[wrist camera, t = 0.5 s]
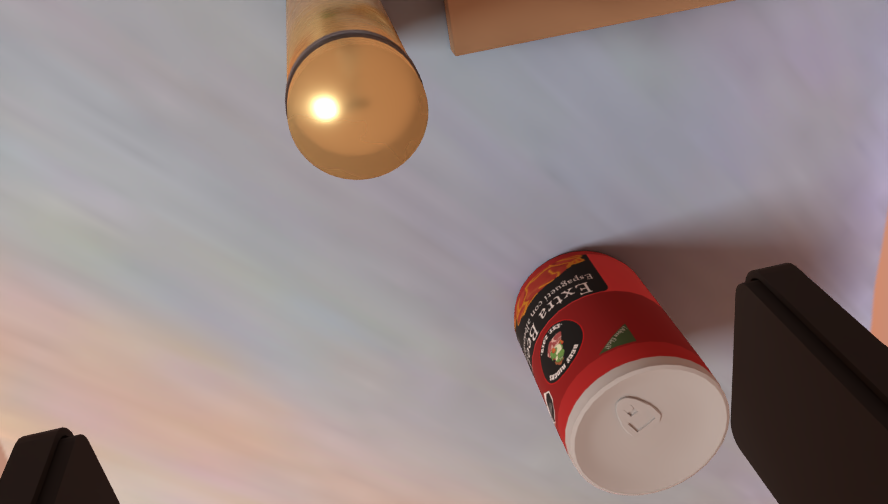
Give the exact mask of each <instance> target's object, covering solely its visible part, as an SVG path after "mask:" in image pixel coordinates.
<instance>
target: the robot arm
mask: <svg viewBox="0 0 888 504" xmlns="http://www.w3.org/2000/svg"><path fill="white" fill-rule="evenodd" d="M731 428H732V433H733V436H734V439H735V441H736V443H737V445H738V447H739V449H740V450H741V451H742V453H743V454H744V456H745V457H746V458H747V460H748V461H749V463H750V464H751V465H752V467H753V468H754V470H755V471H756V472H757V474H758V475H759V477H760V478H761V479H762V481H763V482H764V484H765V485H766V486H767V488H768V489H769V491H770V492H771V493H772V495H773V496H774V498H775V499H776V500H777V502H778V503H779V504H888V347H887V346H886V345H884V344H883V343H882V342H880V341H879V340H878V339H877V338H876V337H875V336H874V335H873V334H871V333H870V332H869V331H868V330H867V329H866V328H865V327H864V326H862V325H861V324H860V323H859V322H858V321H857V320H856V319H855V318H853V317H852V316H851V315H850V314H849V313H848V312H847V311H846V310H844V309H843V308H842V307H841V306H840V305H839V304H838V303H837V302H835V301H834V300H833V299H832V298H831V297H830V296H829V295H828V294H826V293H825V292H824V291H823V290H822V289H821V288H820V287H819V286H817V285H816V284H815V283H814V282H813V281H812V280H811V279H810V278H808V277H807V276H806V275H805V274H804V273H803V272H802V271H801V270H799V269H798V268H797V267H796V266H794V265H793V264H791V263H784V264H780V265H775V266H771V267H766V268H762V269H758V270H753V271H751V272H749V273H748V275H747V277H746V281H745V283H741V284H739V285H738V286H737V289H736V298H735V324H734V350H733V376H732V402H731ZM0 504H120V503H119V501H118V499H117V497H116V495H115V493H114V491H113V489H112V487H111V485H110V483H109V481H108V479H107V477H106V475H105V473H104V471H103V469H102V467H101V465H100V463H99V461H98V459H97V457H96V455H95V453H94V451H93V449H92V447H91V445H90V443H89V441H88V439H87V438H86V437H85V436H84V435H81V434H80V435H75V436H74V435H73V434H72V432H71V431H70V430H69V429H67V428H63V427H62V428H58V429H54V430H49V431H45V432H40V433H36V434H32V435H27V436H23V437H21V438H19V439H18V441H17V442H16V444H15V446H14V448H13V450H12V453H11V455H10V457H9V460H8V462H7V464H6V467H5V469H4V471H3V474H2V476H1V478H0Z"/></svg>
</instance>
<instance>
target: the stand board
mask: <svg viewBox="0 0 888 504" xmlns="http://www.w3.org/2000/svg"><path fill="white" fill-rule="evenodd" d="M729 1H734V0H444V5H445V12H446V19H447V26H448V33H449V40H450V46H451V50H452V52H453V53H454V55H455V56H459V55H464V54H469V53H474V52H479V51H484V50H489V49H494V48H499V47H504V46H509V45H514V44H519V43H524V42H529V41H534V40H539V39H544V38H549V37H554V36H559V35H564V34H569V33H574V32H579V31H584V30H589V29H594V28H599V27H604V26H609V25H614V24H619V23H624V22H629V21H634V20H639V19H644V18H649V17H654V16H659V15H664V14H669V13H674V12H679V11H684V10H689V9H694V8H699V7H704V6H709V5H714V4H719V3H724V2H729Z"/></svg>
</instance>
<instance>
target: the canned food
mask: <svg viewBox="0 0 888 504" xmlns="http://www.w3.org/2000/svg"><path fill="white" fill-rule="evenodd" d="M514 327H515V331H516V335H517V339H518V341H519V343H520V346H521V348H522V350H523V353H524V355H525V357H526V360H527V362H528V364H529V367H530V369H531V371H532V373H533V376H534V378H535V380H536V383H537V385H538V387H539V390H540V392H541V394H542V397H543V399H544V401H545V404H546V406H547V408H548V410H549V413H550V415H551V417H552V420H553V422H554V424H555V427H556V429H557V431H558V434H559V436H560V438H561V440H562V442H563V444H564V446H565V448H566V451H567V453H568V455H569V457H570V459H571V460H572V462H573V464H574V465H575V467H576V468H577V470H578V472H579V473H580V474H581V475H582V476H583V478H584V479H585V480H586V481H587V482H589V483H590V484H592V485H594V486H595V487H597V488H599V489H601V490H604V491H607V492H609V493H614V494H620V495H643V494H650V493H655V492H658V491H662V490H665V489H668V488H670V487H673V486H675V485H677V484H679V483H682V482H683V481H685V480H686V479H688V478H690V477H691V476H693V475H694V474H696V473H697V472H698V471H699V470H700V469H701V468H703V467H704V466H705V465H706V464H707V463H708V462H709V461H710V460H711V458H712V457H713V456H714V455H715V454H716V452H717V451H718V449H719V447H720V446H721V444H722V443H723V440H724V438H725V435H726V433H727V430H728V424H729V418H730V415H729V404H728V402H727V399H726V396H725V393H724V392H723V390H722V389H721V387H720V384H719V383H718V382H717V380H716V379H715V377H714V376H713V375H712V373H711V372H710V370H709V369H708V368H707V366H706V365H705V363H704V362H703V361H702V359H701V358H700V357H699V355H698V354H697V353H696V352H695V350H694V349H693V348H692V346H691V345H690V344H689V342H688V341H687V340H686V339H685V337H684V336H683V335H682V333H681V332H680V331H679V329H678V328H677V327H676V326H675V324H674V323H673V322H672V320H671V319H670V318H669V316H668V315H667V314H666V313H665V311H664V310H663V309H662V307H661V306H660V305H659V304H658V302H657V301H656V300H655V298H654V297H653V296H652V294H651V293H650V292H649V291H648V289H647V288H646V287H645V285H644V284H643V283H642V281H641V280H640V279H639V278H638V276H637V275H636V274H635V272H634V271H633V270H631V269H630V268H629V267H628V266H627V265H626V264H624V263H622V262H620V261H618V260H616V259H615V258H613V257H610V256H608V255H606V254H602V253H599V252H592V251H577V252H570V253H566V254H563V255H559V256H557V257H555V258H553V259H551V260H549V261H547V262H546V263H544V264H543V265H541V266H540V267H538V268H537V269H536V270H535V271H534V272H533V273H532V274H531V275H530V276H529V277H528V279H527V280H526V281H525V283H524V284H523V286H522V287H521V290H520V292H519V294H518V297H517V300H516V305H515V313H514Z"/></svg>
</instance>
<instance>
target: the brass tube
mask: <svg viewBox="0 0 888 504" xmlns="http://www.w3.org/2000/svg"><path fill="white" fill-rule="evenodd" d="M286 26H287V84H286V93H285V104H286V114H287V119H288V125H289V130H290V132H291V135H292V138H293V140H294V142H295V144H296V146H297V147H298V149H299V150H300V152H301V153H302V154H303V156H304V157H305V158H306V159H307V160H308V161H309V162H311V163H312V164H313V165H314V166H316V167H317V168H319V169H320V170H322V171H324V172H326V173H328V174H330V175H333V176H336V177H340V178H344V179H352V180H363V179H370V178H375V177H378V176H382V175H384V174H387V173H389V172H391V171H393V170H394V169H396V168H398V167H399V166H400V165H402V164H403V163H404V162H405V161H406V160H407V159H409V158H410V157H411V155H412V154H413V153H414V152H415V150H416V149H417V147H418V146H419V144H420V142H421V140H422V138H423V136H424V133H425V130H426V126H427V121H428V102H427V97H426V93H425V90H424V87H423V83H422V80H421V78H420V75H419V73H418V71H417V69H416V67H415V66H414V64H413V62H412V60H411V59H410V58H409V56H408V55H407V53H406V51H405V49H404V47H403V45H402V43H401V41H400V39H399V37H398V35H397V33H396V31H395V29H394V27H393V25H392V23H391V21H390V19H389V17H388V15H387V13H386V11H385V9H384V7H383V5H382V3H381V1H380V0H286Z"/></svg>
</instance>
